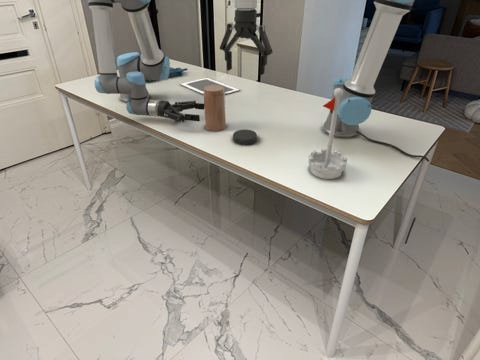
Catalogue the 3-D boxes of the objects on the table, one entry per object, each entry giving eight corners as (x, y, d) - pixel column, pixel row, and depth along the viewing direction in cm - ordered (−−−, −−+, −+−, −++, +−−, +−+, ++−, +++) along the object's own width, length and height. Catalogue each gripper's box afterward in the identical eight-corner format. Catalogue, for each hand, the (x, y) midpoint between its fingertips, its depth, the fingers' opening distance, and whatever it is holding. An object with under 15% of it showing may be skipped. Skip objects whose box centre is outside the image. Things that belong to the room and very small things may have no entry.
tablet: (180, 84, 205) (180, 83, 205) (207, 78, 216) (207, 77, 216) (211, 98, 184) (211, 97, 184) (240, 90, 196) (240, 89, 195)
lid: (240, 132, 148) (240, 127, 147) (260, 137, 144) (261, 132, 143) (228, 141, 141) (228, 136, 140) (249, 147, 137) (249, 141, 136)
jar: (225, 131, 150) (224, 91, 140) (204, 131, 150) (201, 91, 140) (226, 122, 157) (225, 84, 148) (206, 122, 158) (204, 84, 148)
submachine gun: (172, 62, 238) (192, 67, 221) (173, 67, 240) (192, 73, 223) (126, 71, 219) (143, 77, 202) (127, 77, 221) (145, 84, 204)
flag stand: (330, 158, 128) (344, 79, 112) (352, 176, 118) (370, 92, 102) (300, 165, 124) (309, 84, 108) (320, 183, 114) (333, 97, 98)
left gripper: (171, 106, 168) (212, 110, 164) (149, 127, 147) (195, 131, 143) (169, 91, 164) (211, 95, 160) (146, 110, 143) (194, 115, 139)
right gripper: (284, 9, 114) (280, 73, 125) (219, 6, 123) (221, 65, 135) (275, 12, 108) (272, 78, 120) (208, 8, 117) (211, 70, 129)
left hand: (204, 112), depth 152 cm, fingers open, 13 cm apart
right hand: (245, 71), depth 127 cm, fingers open, 13 cm apart
